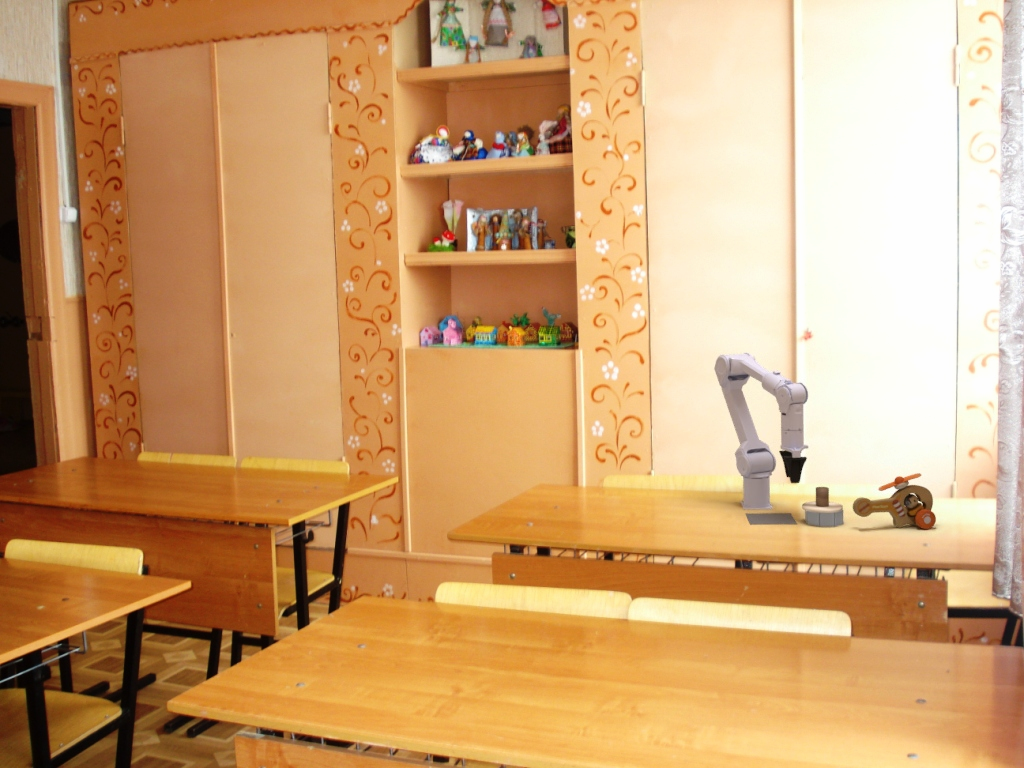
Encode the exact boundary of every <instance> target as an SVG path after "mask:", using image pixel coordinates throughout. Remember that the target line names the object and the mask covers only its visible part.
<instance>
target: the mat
mask: <svg viewBox="0 0 1024 768" xmlns="http://www.w3.org/2000/svg"><path fill="white" fill-rule="evenodd" d="M745 517H746V518H747V521H748V524H749V525H751V526H752V525H754V526H755V525H756V526H757V525H761V526H762V525H765V526H766V525H778V526H779V525H798V523H797V521H796V519H795V518H794V515H792V513H791V512H784V513H783V512H779V513H777V512H775V513H773V512H771V513H770V512H766V513H764V512H763V513H761V512H757V513H755V512H754V513H753V512H751V513H750V512H749V513H745Z"/></svg>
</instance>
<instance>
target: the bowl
mask: <svg viewBox="0 0 1024 768" xmlns="http://www.w3.org/2000/svg"><path fill="white" fill-rule="evenodd" d="M804 521H805V523H806V524H807V525H809V526H814V527H819V528H820V527H821V528H824V527H825V528H827V527H829V528H831V527H833V528H834V527H839V526H842V525H844V509H843V510H842V511H840V512H835V513H815V512H809V511H805V510H804Z"/></svg>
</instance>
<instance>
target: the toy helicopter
mask: <svg viewBox="0 0 1024 768" xmlns="http://www.w3.org/2000/svg"><path fill="white" fill-rule="evenodd" d="M921 476H922V473H914V474H913V473H912V474H910V475H907V476H904V477H903V476H896V477H895V478H894V481H891V482H889V483H886V484H884V485H880V487H878V489H877V490H878V491H881V492H883V491H885V490H888V489H890V488H894V489H895V492H894V493H892V495H891V496H890V497H888V498H879V499H872V500H871V499H870V498H867V497H863V496H862V497H861V496H860V497H857V499H855V500H854V501H853V504H852V510H853V512H854V514H856V515H857V516H859V517H861V518H865V517H866V518H867V517H869V516H871V514H874V513H889V515H890V517H892V524H893V526H895V527H897V528H899V529H901V528H903V527H904V526H905V525H916V526H917V527H919V528H921V529H923V530H928V529H929V530H930V529H932V528H933V527H934V525H935V524H936V521H937V516H936V514H935V513H934V512H933V511H932V510H933V505H934V499H933V498H934V497H933V494H932V493H931V491H930V490H929V489H928V488H927V487H925V486H922V485H918V484H910V482H909V481H910V480H914V479H917V478H918V479H919V478H921Z"/></svg>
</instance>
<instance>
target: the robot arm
mask: <svg viewBox="0 0 1024 768" xmlns="http://www.w3.org/2000/svg"><path fill="white" fill-rule="evenodd" d="M713 370H714V372H715V375H716V377H717V381H718V383H719V386H720V387H721V388H720V389H721V392H722V394H723V398H724V400H725V404H726V407H727V409H728V413H729V415H730V418H731V421H732V424H733V427H734V429H735V432H736V436H737V439H738V441H739V444H740V445H739V447H738V448H736V451H735V453H734V456H735V461H736V464H735V465H736V469H737V471H738V473H739V474H740V477H742V479H743V480H742V486H743V487H742V488H743V494H742V495H743V496H742V497H743V500H740V501H739V502H740V504H741V507H742V509H743V510H773V509H774V507H773V506H772V503H771V499H770V498H771V495H770V494H771V492H770V491H771V490H770V488H771V487H770V486H771V483H770V479H771V478H770V477H771V476H772V475H773V474H772V473H773V472H774V471H775V470H776V466H777V459H776V456H775V455H774V453H773V452H772V450H771V449H770V447H769V445H768V444H767V443H766V442H764V441H762V440H760V438H759V436H758V435H759V434H758V433H757V430H756V426H755V424H754V421H753V418H752V415H751V411H750V410H749V406H748V404H747V401H746V397H745V395H744V393H743V386H745V385H746V384H747V383H748V381H749V379H750V377H751V378H753V379H755V380H756V381H758V382H760V383H761V387H762V389H763V390H765V391H766V392H767V393H768V394H771V395H772V396H773V397H775V399H776V400H775V401H776V402H777V404H778V411H779V412H780V430H781V431H780V433H781V434H780V435H781V437H780V438H781V439H780V440H781V441H780V442H781V445H780V449H781V450H779V455H780V456H781V459H782V462H783V467H784V471H785V476H786V478H789V481H790V483H791V484H799V483H800V482H801V479H802V478H801V477H802V473H803V468H804V466H805V463H806V462H807V459H808V457H807V456H802V454H801V453H802V451H804V450H805V449H809V445H808V444H804V441H805V439H804V435H805V434H804V405H805V404H806V403H807V402H808V398H809V391H808V388H807V386H806V385H805V384H803V382H796V383H795V382H793V381H792V379H790V378H787V377H785V376H784V375H782V374H781V372H780V371H779V370H771V371H769V370H767V368H765V367H763V366H762V365H761V364H760V363H758V362H757V360H756V358H755V356H754V355H752V354H751V353H750V352H744V353H736V354H735V353H734V354H720V355H718V356H717V358H716V360H715V364H714V369H713Z"/></svg>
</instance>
